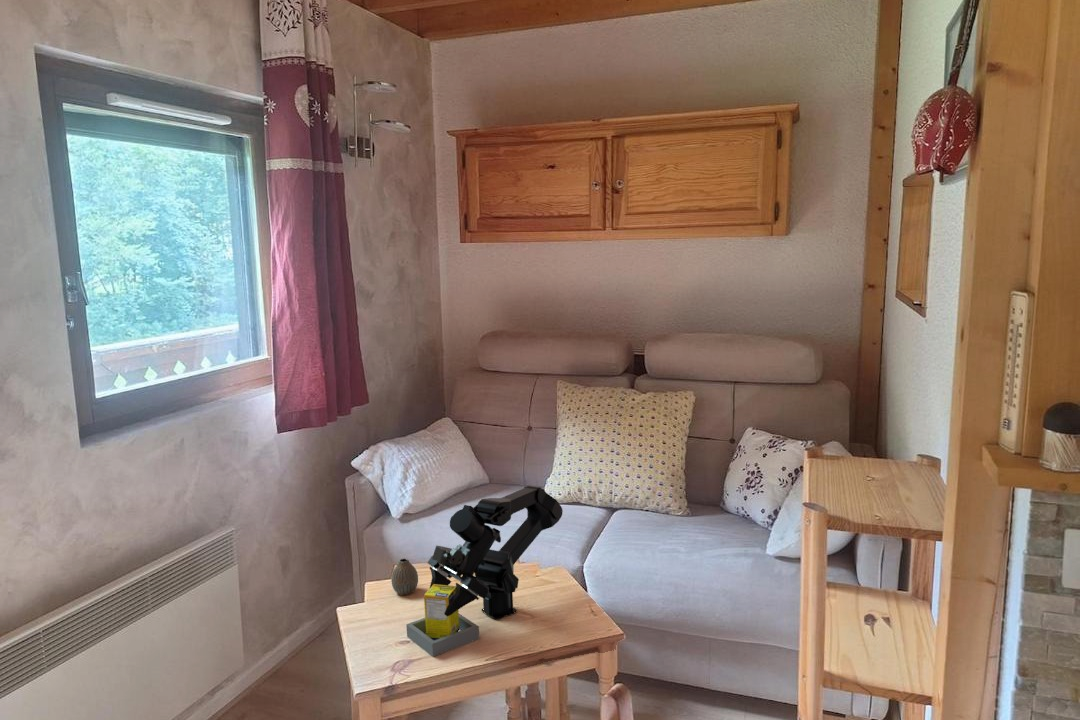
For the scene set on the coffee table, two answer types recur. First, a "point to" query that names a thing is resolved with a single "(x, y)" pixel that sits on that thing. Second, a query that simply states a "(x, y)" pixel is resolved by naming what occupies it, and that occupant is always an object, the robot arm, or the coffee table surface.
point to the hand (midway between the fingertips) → (436, 608)
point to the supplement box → (440, 612)
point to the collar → (446, 643)
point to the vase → (404, 578)
